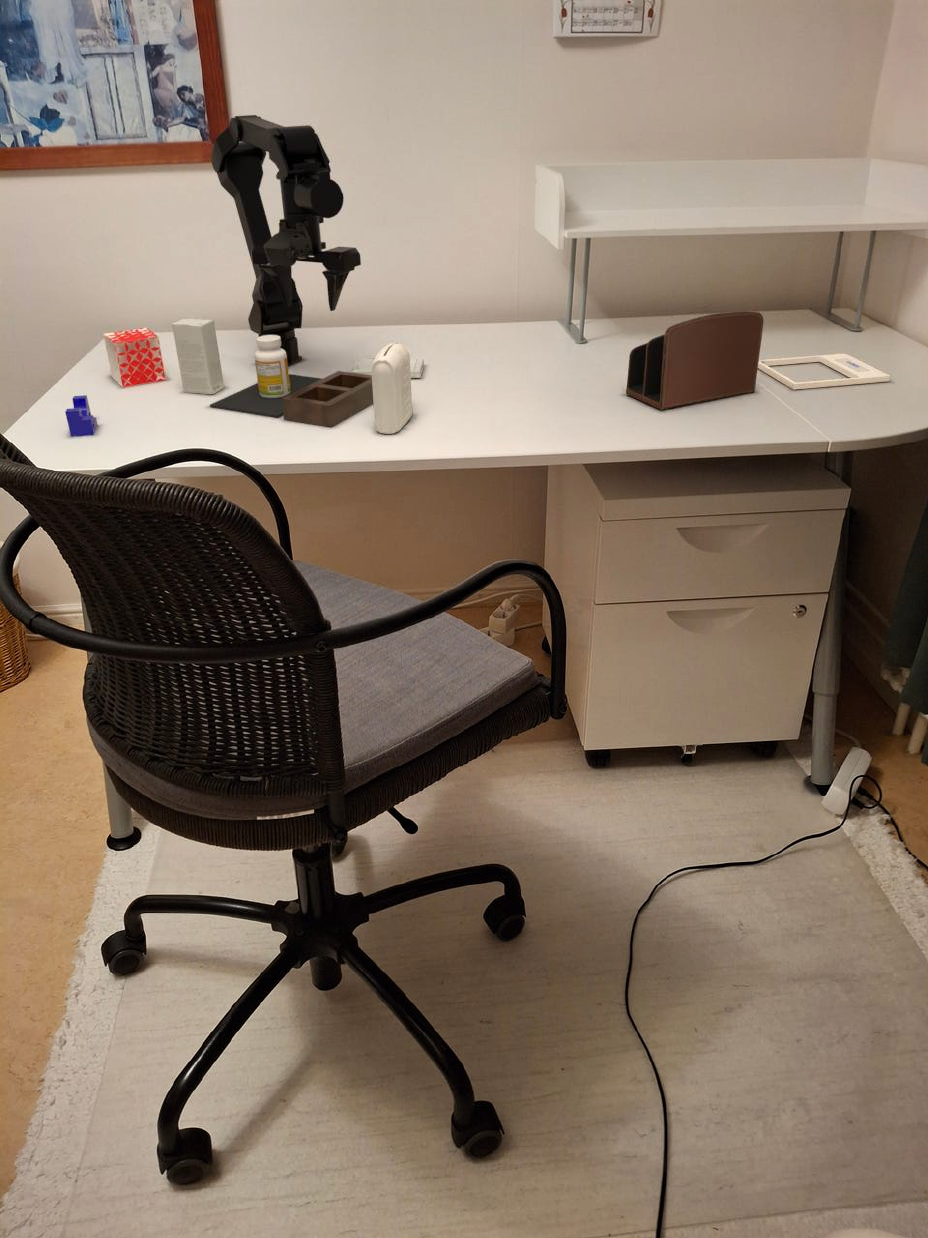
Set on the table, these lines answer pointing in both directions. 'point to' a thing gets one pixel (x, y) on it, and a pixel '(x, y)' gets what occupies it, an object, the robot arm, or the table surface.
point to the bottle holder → (329, 399)
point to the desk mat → (261, 398)
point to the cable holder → (81, 418)
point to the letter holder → (697, 361)
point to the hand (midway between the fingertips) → (310, 308)
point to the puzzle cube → (135, 357)
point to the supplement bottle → (272, 367)
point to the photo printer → (391, 388)
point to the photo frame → (839, 362)
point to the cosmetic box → (198, 356)
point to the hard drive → (366, 364)
